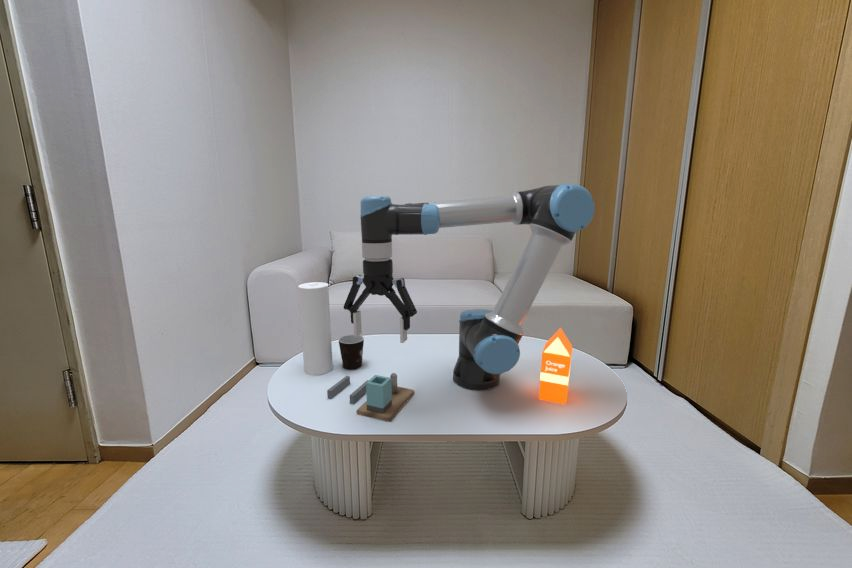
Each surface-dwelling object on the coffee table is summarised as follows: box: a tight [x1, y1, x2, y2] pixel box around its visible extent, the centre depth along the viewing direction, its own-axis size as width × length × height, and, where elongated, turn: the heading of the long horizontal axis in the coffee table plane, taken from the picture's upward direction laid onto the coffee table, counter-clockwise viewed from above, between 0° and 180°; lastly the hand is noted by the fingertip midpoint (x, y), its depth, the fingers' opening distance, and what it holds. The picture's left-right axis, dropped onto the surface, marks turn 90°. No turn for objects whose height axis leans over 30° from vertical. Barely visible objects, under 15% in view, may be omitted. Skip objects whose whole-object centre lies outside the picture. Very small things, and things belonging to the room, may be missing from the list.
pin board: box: [356, 372, 415, 423], centre depth 106 cm, size 10×16×7 cm, turn 158°
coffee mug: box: [338, 334, 365, 371], centre depth 128 cm, size 12×9×10 cm
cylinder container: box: [297, 281, 334, 376], centre depth 125 cm, size 9×9×30 cm
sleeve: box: [365, 374, 392, 414], centre depth 101 cm, size 5×5×8 cm
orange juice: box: [538, 327, 573, 405], centre depth 109 cm, size 8×9×20 cm
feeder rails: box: [326, 375, 370, 405], centre depth 112 cm, size 9×10×2 cm
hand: (380, 338), depth 99 cm, fingers open, 13 cm apart
